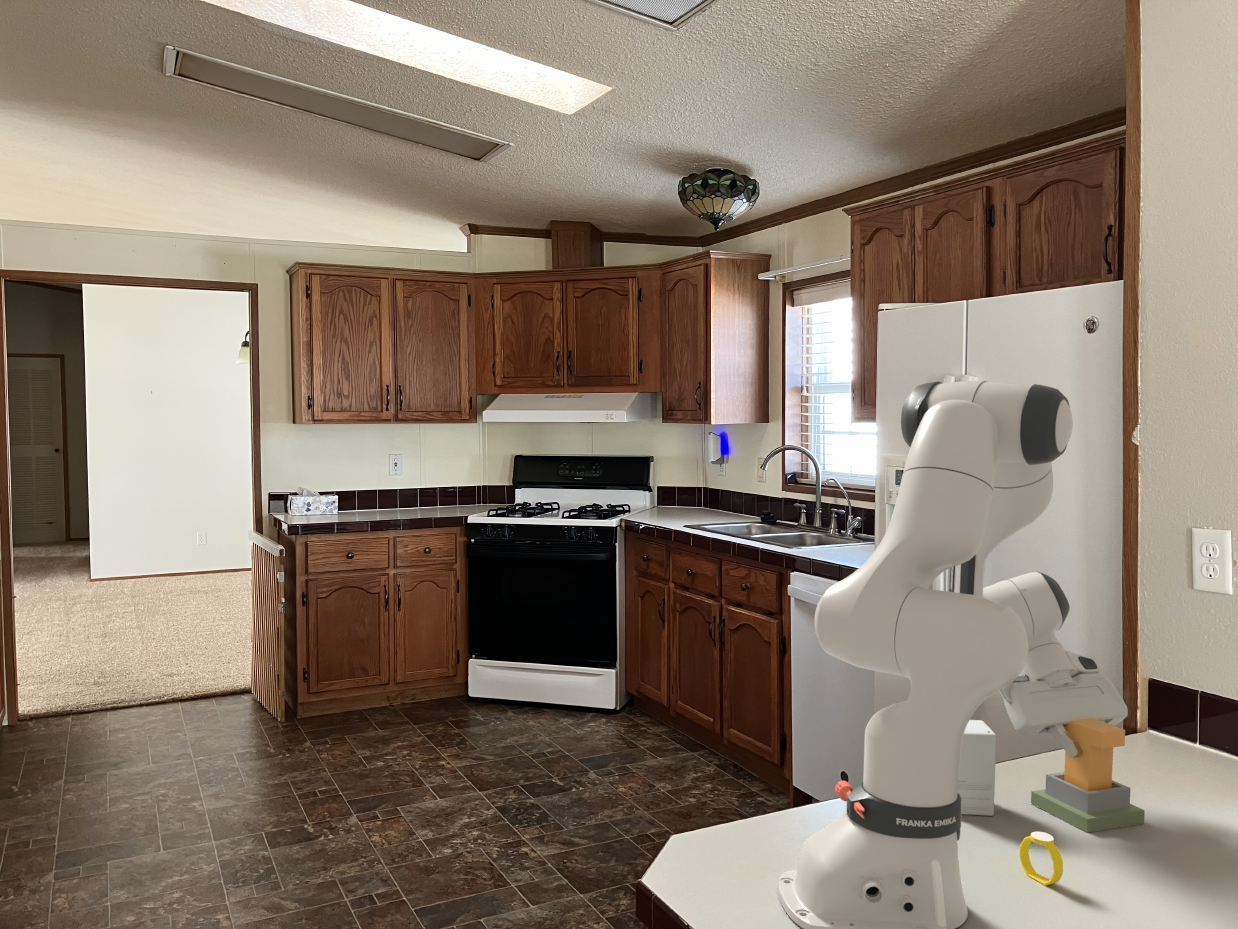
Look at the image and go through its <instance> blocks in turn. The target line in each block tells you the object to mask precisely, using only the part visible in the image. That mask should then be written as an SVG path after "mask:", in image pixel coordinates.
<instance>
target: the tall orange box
mask: <svg viewBox="0 0 1238 929" xmlns="http://www.w3.org/2000/svg"><path fill="white" fill-rule="evenodd" d="M1065 734H1066V735H1067V736H1068V737H1069V738H1070V739H1071V740H1072V741H1073V742H1078V744H1079V745H1080V748H1081V749H1082V751H1083V753H1082V754H1081V755H1079V757H1074V758H1069V757H1068V755H1067V754H1066V752H1065V754H1064V781H1066V782H1068V783H1071V784H1073V785H1075V786H1077V787H1079V788H1081V789H1084V790H1086V791H1095V790H1103V789H1110V788H1112V780H1113V762H1114V761H1113V760H1114V748H1119V747H1125V743H1126V740H1125V739H1126V729H1125V728H1120V727H1118V726H1116V725H1110V724H1108V723H1105V722H1102V721H1100V720H1097V719H1094V718H1090V719H1082V720H1073V721H1070V723H1069V724H1066V732H1065Z"/></svg>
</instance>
